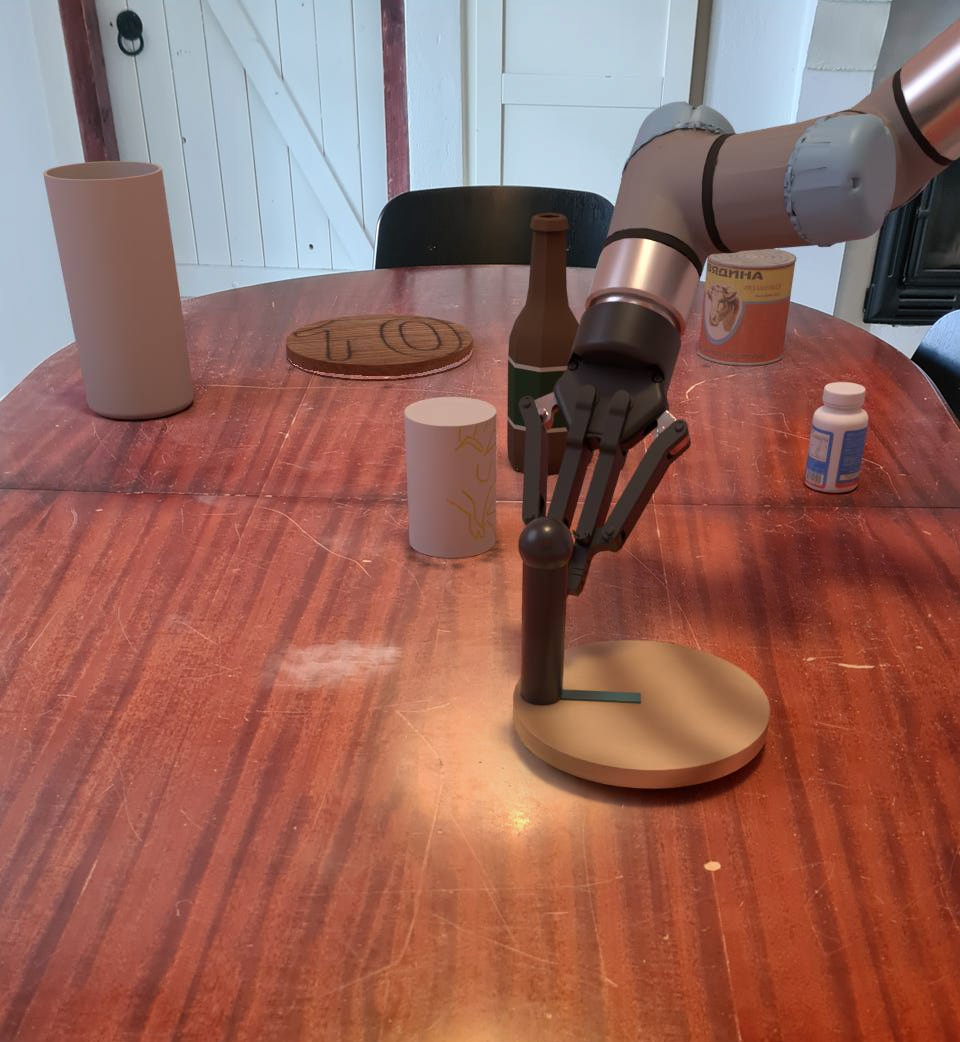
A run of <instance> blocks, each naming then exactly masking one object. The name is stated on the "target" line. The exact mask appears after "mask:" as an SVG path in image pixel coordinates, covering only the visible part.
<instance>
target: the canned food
mask: <svg viewBox="0 0 960 1042" xmlns="http://www.w3.org/2000/svg"><path fill="white" fill-rule="evenodd" d="M797 258H798V257H797V256H796V255H795V254H794V253H792V252H789V251H786V250H782V249H779V248H776V249H763V250H750V251H740V252H737V253H728V254H726V253H722V254H712V255H710V256H708V257H707V260H706V270H705V281H704V290H703V300H702V310H701V322H700V331H699V339H698V348H697V355H698V356H699V357H701V358H703V359H704V360H707V361H710V362H711V363H717V364H722V365H728V366H741V367H753V366H755V367H756V366H764V365H770V364H773V363H776V362H778V361H780V360H782V359H783V357H784V347H785V339H786V332H787V325H788V318H789V311H790V303H791V296H792V289H793V281H794V274H795V267H796V262H797Z"/></svg>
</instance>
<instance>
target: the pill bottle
mask: <svg viewBox="0 0 960 1042" xmlns="http://www.w3.org/2000/svg"><path fill="white" fill-rule="evenodd" d="M866 391H867V389H866V387H865V386H863V385H862V384H859V383H855V382H848V381H836V382H835V381H834V382H830V383H827V384H826V385H825V386H824V388H823V393H822V397H821V399H822V403H823V405H822V406H820V407H818V408H817V409H816V410H815V411H814V413H813V415H812V421H811V428H810V435H809V444H808V451H807V458H806V464H805V471H804V483H805V485H806V486H807V487H809V488H810V489H811V490H815V491H817V492H822V493H828V494H843V493H847V492H851V491H853V490H855V488H857V486H858V485H859V480H860V474H861V469H862V468H861V467H862V462H863V456H864V450H865V446H866V445H865V444H866V439H867V432H868V427H869V414H868V413H867V411H866V410H865V409H863V408H862V406H863V405H864V404H865V398H866Z"/></svg>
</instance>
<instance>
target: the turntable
mask: <svg viewBox="0 0 960 1042" xmlns="http://www.w3.org/2000/svg"><path fill="white" fill-rule="evenodd" d="M517 544H518V553H519V556H520V558H521V560H522V571H521V572H522V576H521V577H522V578H521V580H522V581H521V582H522V583H521V624H520V625H521V627H520V628H521V630H520V631H521V633H520V637H521V638H520V641H521V642H520V677H519V679H518V681H517V682H516V684H515V686H514V689H513V693H512V723H513V726H514V730H515V732H516V734H517V736H518V738H519V740H521V742H522V744H523V745H524V746H525V747H526V748H527V749H528V750H530V751H531V753H533V754H534V755H535V756H536V757H538V758H539V759H541V761H544V762H545V763H546V764H548V765H550V766H552V767H553V768H555V769H558V770H560V771H562V772H565V773H567V774H569V775H572V776H574V777H577V778H580V779H584V780H587V781H591V782H593V783H594V782H595V783H599V784H604V785H609V786H615V787H621V788H632V789H656V790H657V789H659V790H660V789H675V788H682V787H688V786H694V785H699V784H703V783H707V782H711V781H714V780H717V779H720V778H723V777H726V776H727V775H730V774H732V773H734V772H737V771H738V770H739V769H741V768H743V767H745V766H747V764H748V763H749V762H751V761H752V760H754V758H756V756H757V755H758V754H759V753H760V751H761V750H762V749H763V746H764V744H765V742H766V741H767V736H768V731H769V725H770V719H771V704H770V702H769V698H768V696H767V694H766V692H765V691H764V689H763V687H762V686H761V685H760V684H759V683H758V681H757V680H756V679H755V678H753V677H752V676H751V675H750V674H749V673H748V672H747V671H745V670H743V669H742V668H740V667H739V666H737V665H735V664H734V663H732V662H730V661H728V660H726V659H725V658H721V657H719V656H717V655H715V654H712V653H709V652H706V651H704V650H701V649H697V648H694V647H689V646H686V645H682V644H676V643H670V642H662V641H656V640H643V639H642V640H641V639H622V640H621V639H617V640H616V639H615V640H605V641H595V642H590V643H584V644H579V645H576V646H572V647H568V648H565V647H566V621H567V602H568V601H567V600H568V597H567V578H568V561H569V559H570V558H571V555H572V552H573V545H574V537H573V533H572V532H571V529H570V530H569V529H568V527H567V526H566V525H565V524H564V523H563V522H561V521H560V520H558V519H555V518H552V517H547V516H546V517H541V518H537V519H535V520H533V521H531V522H530V523H529V524H527V525H525V526H524V528H523V529H522V530H521V533H520V535H519V537H518V543H517Z"/></svg>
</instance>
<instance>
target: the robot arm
mask: <svg viewBox="0 0 960 1042" xmlns="http://www.w3.org/2000/svg"><path fill="white" fill-rule="evenodd" d="M958 159H960V17H958V18H957V19H955V21H954V22H952V23H951V24H949V26H947V28H945V29H944V30H943V31H942V32H941V33H940V34H938V35H937V36H936V37H935V38H933V39H932V40H931V41H930V42H929V43H928V44H926V45H925V46H924V47H923V48H922V49H920V50H919V51H918V52H917V53H916V54H914V55H913V56H912V57H911V58H910V59H909V60H907V62H904V64H903V65H902V66H901V67H900V68H899V69H898V70H897V71H895V72H893V74H891V75H890V76H889V77H887V78H886V79H885V80H884V81H883V82H881V83H880V84H879V85H878V86H877V87H875V88H874V89H873V90H872V91H871V92H870V93H869V94H867V95H866V96H865V97H864V98H862V99H861V100H860V101H859V102H857V103H856V104H855V105H854V106H851V107H850V108H848V109H844V110H840V111H835V112H833V113H830V114H826V115H822V116H818V117H813V118H810V119H806V120H803V121H799V122H794V123H787V124H782V125H777V126H772V127H767V128H761V129H756V130H755V129H754V130H750V131H746V132H739V133H736V131H735V129H734V127H733V125H732V124H731V122H730V121H729V120H728V118H726V117H725V116H724V115H723V114H722V113H721V112H719V111H717V110H716V109H714V108H713V107H710V106H709V105H706V104H700V105H699V106H692V105H690V104H689V103H688V102H687V101H684V100H683V101H673V102H672V101H671V102H667V103H665V104H662V105H660V106H658V107H657V108H655V109H653V110H652V111H651V112H650V113H649V114H648V115H647V116H646V117H645V118H644V120H643V121H642V123H641V125H640V127H639V129H638V131H637V134H636V137H635V140H634V142H633V145H632V147H631V150H630V153H629V156H628V157H627V159H626V160H625V162H624V164H623V168H622V172H621V179H620V184H619V188H618V191H617V196H616V199H615V204H614V208H613V212H612V216H611V220H610V224H609V228H608V231H607V235H606V239H605V241H604V242H603V244H602V249H601V252H600V254H599V257H598V261H597V263H596V266H595V270H594V274H593V276H592V280H591V283H590V287H589V289H588V293H587V296H586V300H585V303H584V309H585V311H584V312H583V313H582V315H581V317H580V320H579V322H578V323H579V327H578V330H577V333H576V337H575V340H574V344H573V347H572V350H571V354H570V357H569V361H568V366H567V369H566V371H565V373H564V374H563V376H562V377H561V378H560V379H559V380H558V381H557V382H556V384H555V386H554V390H553V392H552V393H550V394H547V395H545V396H543V397H540V398H538V399H536V400H534V399H533V398H532V397H531V396H524V397H523V398H521V400H520V401H519V409H520V411H521V414H522V417H523V420H524V423H525V426H526V432H525V456H524V472H523V479H522V480H523V484H522V503H521V504H522V505H521V507H522V508H521V520H522V523H523V524H524V525H525V526H526V525H527V524H529V523H530V522H531V521H533V520H535V519H537V518H541V517H552V518H555V519H558V520H560V521H561V522H563V523H564V524H565V525H566V526H567V527H568V529H569V530H570V531H571V527H572V525H573V520H574V516H575V513H576V510H577V506H578V503H579V500H580V495H581V492H582V489H583V485H584V481H585V477H586V474H587V472H588V469H589V468H588V467H589V466H590V464H591V463H592V460H593V457H594V453H595V451H597V450H599V451H598V456H597V459H596V461H595V466H594V470H593V473H592V476H591V479H590V482H589V486H588V488H587V493H586V495H585V498H584V502H583V506H582V509H581V512H580V515H579V519H578V522H577V524H576V529H572V537H573V539H574V542H573V552H572V555H571V558H570V559H569V561H568V578H567V598H568V597H569V596H573V597H577V598H578V597H580V596H581V595H582V593H583V591H584V589H585V585H586V581H587V578H588V575H589V571H590V569H591V564H592V561H593V559H594V557H595V556H596V555H597V554H598V553H602V552H603V553H604V552H607V551H608V552H611V553H618V552H620V551H621V550H622V549H623V548H624V546H625V544H626V542H627V541H628V539H629V537H630V535H631V533H632V532H633V530H634V529H635V527H636V525H637V523H638V521H639V520H640V519H641V517H642V515H643V512H644V511H645V509H646V507H647V506H648V505H649V502H650V501H651V499H652V497H653V495H654V493H656V490H657V489H658V487H659V485H660V484H661V482H662V480H663V479H664V476H665V475H666V473H667V471H668V470H669V468H670V466H671V465H672V464H673V463H674V462H675V461H676V460H677V459H679V458H680V457H681V456H682V455H683V454H685V452H686V451H688V450H689V449H690V448H691V445H692V440H691V434H690V430H689V425H688V423H687V421H686V420H684V419H677V418H676V417H675V416H674V415H673V414H672V413H671V412H670V404H669V398H668V391H669V388H670V385H671V381H672V378H673V375H674V371H675V368H676V364H677V360H678V358H679V354H680V351H681V347H682V340H681V338H682V337H683V336H684V334H685V332H686V329H687V326H688V323H689V319H690V315H691V312H692V309H693V305H694V302H695V299H696V295H697V292H698V289H699V285H700V281H701V277H702V275H703V271H704V269H705V265H706V264H707V259H708V258H707V257H708V256H710V255H712V254H722V253H726V254H728V253H737V252H740V251H750V250H763V249H787V248H797V247H798V248H800V247H813V246H817V247H819V248H831V247H832V246H834V245H836V244H842V243H846V242H852V241H859V240H864V239H868V238H869V237H871V236H873V235H874V234H876V233H877V232H878V231H879V230H880V229H881V228H882V226H883V225H884V221H885V218H886V217H887V216H888V214H891V213H894V212H896V211H897V210H899V209H900V208H902V207H904V206H905V205H906V204H908V203H909V202H911V201H913V199H915V198H916V197H917V196H919V194H921V193H922V192H923V190H925V188H926V187H927V186H928V184H930V181H931V180H932V179H934V178H935V177H937V175H939V174H940V173H941V172H943V171H944V170H945V169H947V168H948V167H949V166H950V165H951V164H952V163H954V162H955V161H957V160H958ZM558 410H559V411H560V414H561V416H562V419H563V421H564V424H565V427H566V429H567V432H568V435H567V441H566V450H565V454H564V457H563V461H562V464H561V468H560V471H559V474H557V479H556V482H555V487H554V489H553V493H552V495H551V499H550V503H549V507H548V509H547V500H548V499H547V497H548V476H549V475H548V450H549V441H548V435H547V431H546V430H549V429H551V427H552V425H553V423H554V414H555V413H556V412H557V411H558ZM653 431H654V432H653ZM652 432H653V441H652V442H651V443H650V445H649V447H648V448H647V450H646V451H645V452H644V455H643V457H642V458H641V460H640V462H639V464H638V465H637V467H636V469H635V471H634V472H633V474H632V476H631V477H630V479H629V481H628V482H627V485H626V486H625V488H624V490H623V492H622V493H621V495H620V497H619V498H618V500H617V502H616V503H615V505H614V507H613V509H612V510H611V512H610V514H609V511H610V507H611V504H612V501H613V498H614V494H615V491H616V487H617V485H618V481H619V477H620V475H621V471H622V470H623V469H624V468H625V464H626V461H627V457H628V454H629V451H630V450H632V449H633V448H634V447H636V446H637V445H638V444H640V442H642V441H643V440H644V439H645V438H646V437H647V436H648V435H649V434H651V433H652ZM608 514H609V515H608Z"/></svg>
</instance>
